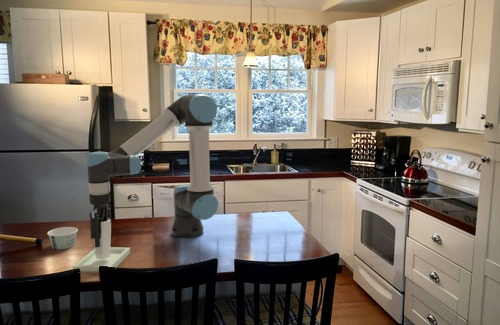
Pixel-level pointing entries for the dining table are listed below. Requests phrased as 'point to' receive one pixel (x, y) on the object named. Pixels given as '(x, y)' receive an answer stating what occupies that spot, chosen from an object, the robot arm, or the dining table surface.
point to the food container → (63, 237)
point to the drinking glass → (105, 239)
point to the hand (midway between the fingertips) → (103, 251)
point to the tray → (102, 260)
